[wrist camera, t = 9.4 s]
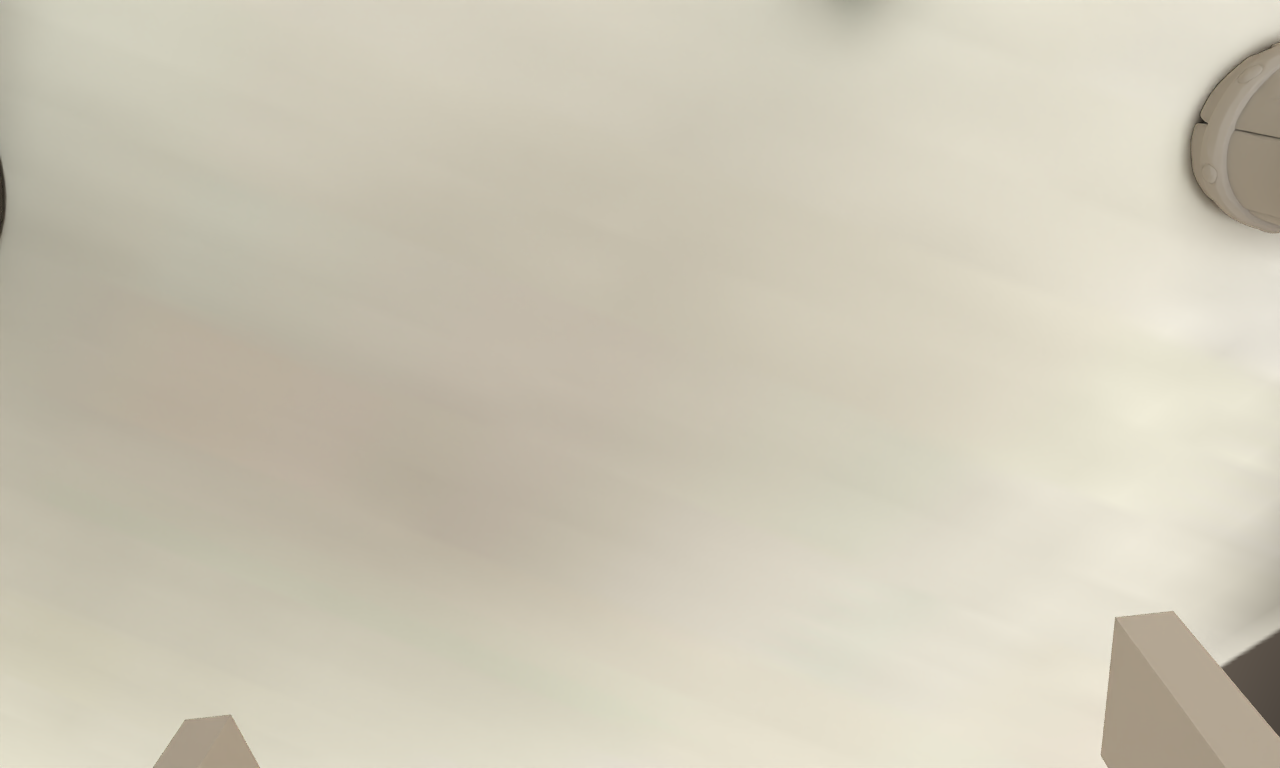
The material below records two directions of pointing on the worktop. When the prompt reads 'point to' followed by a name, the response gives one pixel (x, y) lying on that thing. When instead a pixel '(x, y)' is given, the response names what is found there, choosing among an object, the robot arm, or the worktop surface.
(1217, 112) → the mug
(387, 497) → the worktop surface
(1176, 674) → the robot arm
